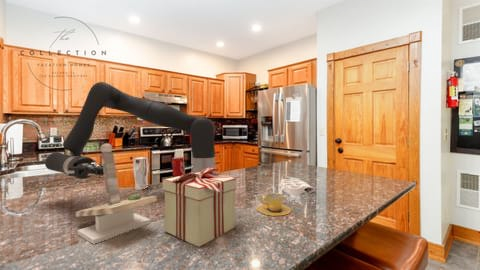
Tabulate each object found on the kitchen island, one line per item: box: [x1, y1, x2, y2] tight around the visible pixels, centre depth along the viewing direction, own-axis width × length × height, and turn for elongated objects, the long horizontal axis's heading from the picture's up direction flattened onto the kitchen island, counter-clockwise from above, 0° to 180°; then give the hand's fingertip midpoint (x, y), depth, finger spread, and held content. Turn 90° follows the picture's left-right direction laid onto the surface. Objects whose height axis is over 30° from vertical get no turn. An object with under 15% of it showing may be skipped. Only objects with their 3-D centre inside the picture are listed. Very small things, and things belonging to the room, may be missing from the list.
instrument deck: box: [74, 142, 158, 218], centre depth 69 cm, size 24×12×20 cm, turn 54°
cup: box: [257, 192, 292, 217], centre depth 82 cm, size 12×12×5 cm
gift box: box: [162, 167, 239, 248], centre depth 66 cm, size 17×18×17 cm
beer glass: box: [132, 156, 150, 191], centre depth 113 cm, size 7×7×15 cm
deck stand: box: [77, 208, 151, 245], centre depth 68 cm, size 10×16×5 cm, turn 144°
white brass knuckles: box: [277, 178, 315, 196], centre depth 109 cm, size 3×18×15 cm
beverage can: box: [171, 156, 186, 178], centre depth 114 cm, size 6×6×15 cm
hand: (102, 171), depth 72 cm, fingers closed
